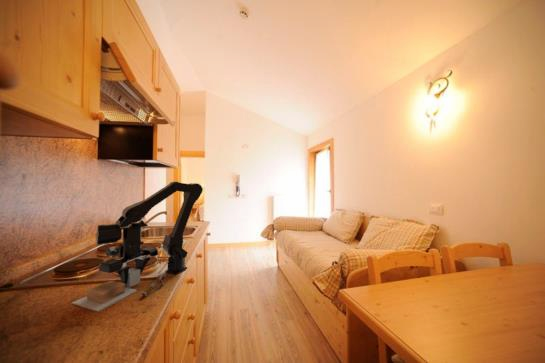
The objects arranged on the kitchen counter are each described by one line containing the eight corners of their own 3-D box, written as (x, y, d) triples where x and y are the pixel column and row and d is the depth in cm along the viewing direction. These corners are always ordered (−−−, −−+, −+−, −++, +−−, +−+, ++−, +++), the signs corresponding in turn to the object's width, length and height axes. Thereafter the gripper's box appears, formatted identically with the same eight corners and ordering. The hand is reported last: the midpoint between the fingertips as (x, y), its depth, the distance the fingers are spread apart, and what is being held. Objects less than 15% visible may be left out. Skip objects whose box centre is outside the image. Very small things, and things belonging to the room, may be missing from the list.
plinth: (110, 288, 71) (110, 280, 71) (124, 292, 68) (125, 283, 69) (87, 299, 64) (87, 290, 64) (101, 304, 62) (102, 294, 62)
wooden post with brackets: (167, 282, 75) (163, 273, 73) (149, 302, 68) (144, 292, 66) (163, 282, 75) (159, 273, 74) (145, 301, 68) (140, 292, 67)
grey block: (132, 280, 78) (132, 268, 78) (139, 282, 76) (140, 269, 76) (121, 285, 74) (122, 272, 74) (129, 287, 73) (129, 273, 73)
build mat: (113, 285, 74) (113, 284, 74) (137, 291, 70) (137, 290, 70) (72, 303, 62) (72, 302, 62) (98, 311, 59) (98, 310, 59)
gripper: (139, 232, 87) (138, 268, 86) (88, 244, 69) (87, 289, 69) (159, 234, 83) (158, 272, 83) (111, 247, 66) (109, 295, 65)
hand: (131, 281), depth 75 cm, fingers open, 5 cm apart
